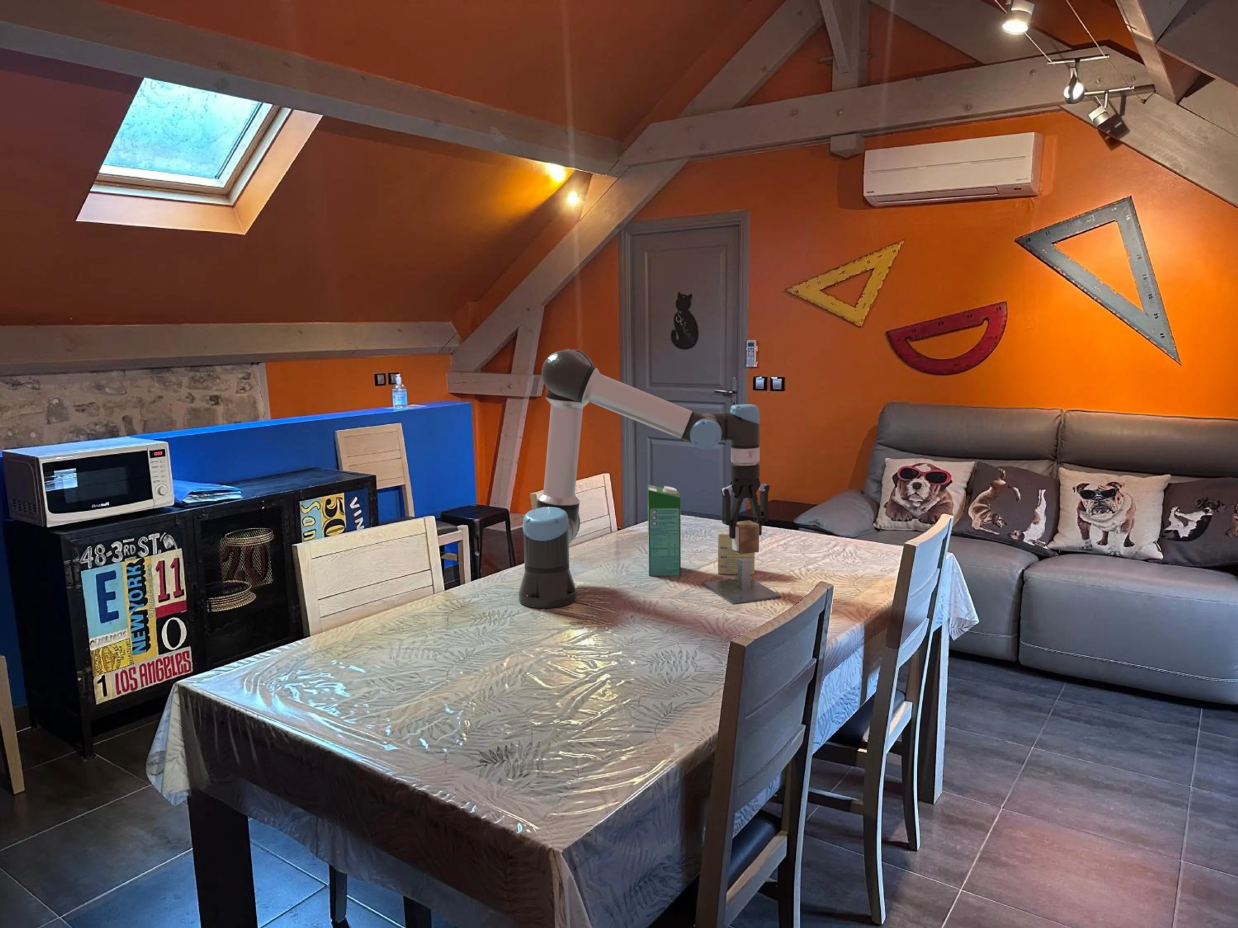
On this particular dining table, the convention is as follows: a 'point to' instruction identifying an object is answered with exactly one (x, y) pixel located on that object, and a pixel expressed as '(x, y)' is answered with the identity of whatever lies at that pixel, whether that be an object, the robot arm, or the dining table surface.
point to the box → (730, 555)
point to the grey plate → (741, 586)
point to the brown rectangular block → (748, 537)
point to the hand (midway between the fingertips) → (745, 548)
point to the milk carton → (664, 531)
